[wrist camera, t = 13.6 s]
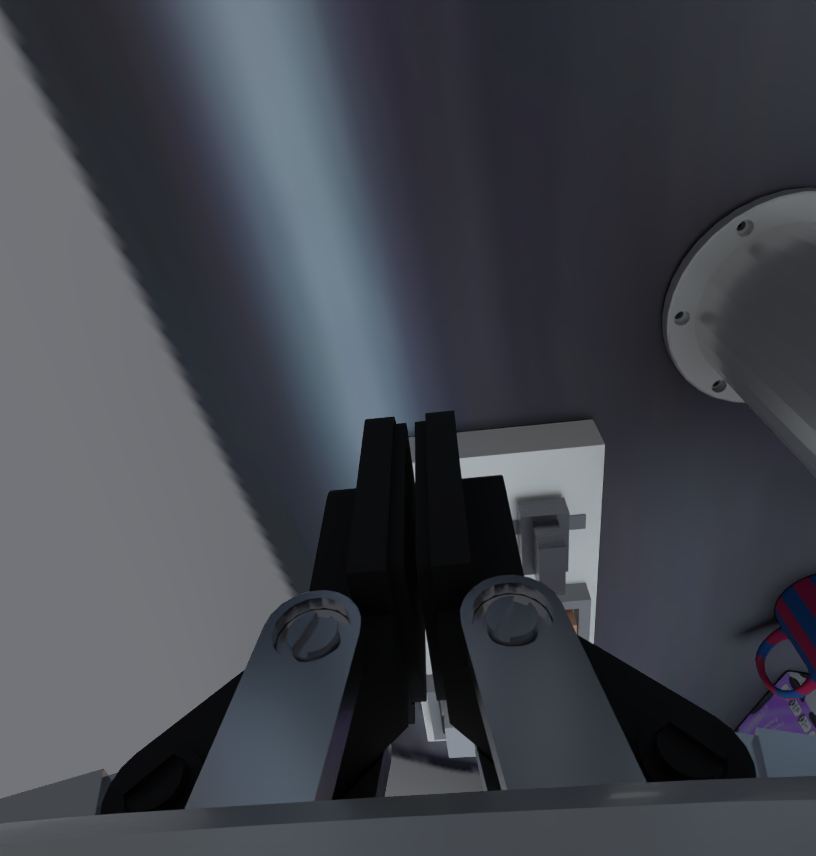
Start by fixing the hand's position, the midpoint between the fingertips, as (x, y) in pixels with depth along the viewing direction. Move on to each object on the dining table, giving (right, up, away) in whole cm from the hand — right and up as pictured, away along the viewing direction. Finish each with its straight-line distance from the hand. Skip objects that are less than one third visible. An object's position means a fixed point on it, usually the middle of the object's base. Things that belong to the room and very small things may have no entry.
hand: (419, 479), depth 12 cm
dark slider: (+9, -6, +29) cm, 31 cm away
